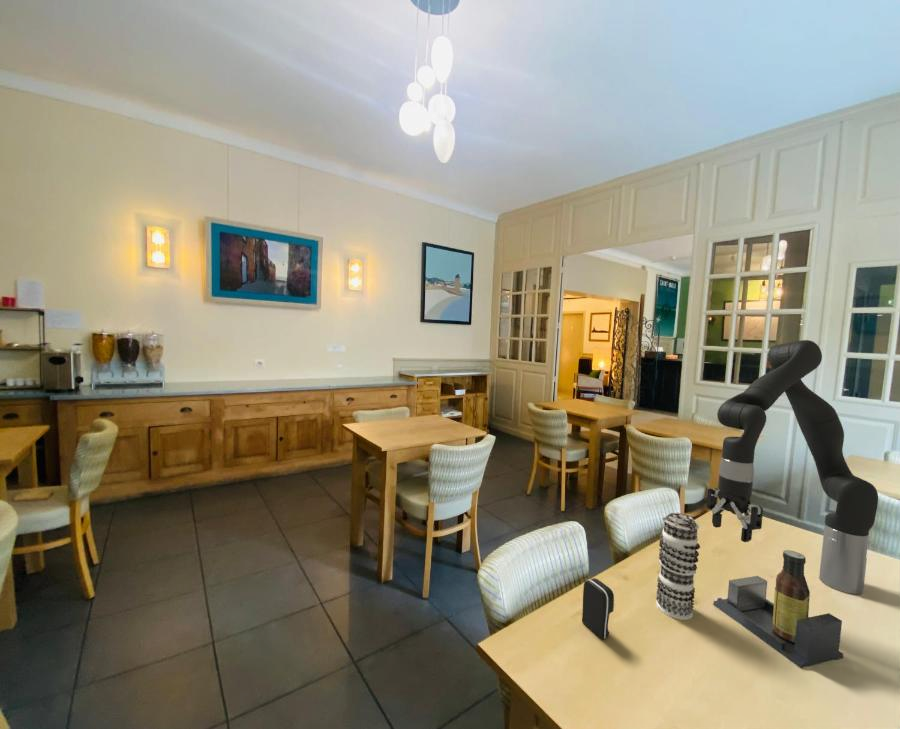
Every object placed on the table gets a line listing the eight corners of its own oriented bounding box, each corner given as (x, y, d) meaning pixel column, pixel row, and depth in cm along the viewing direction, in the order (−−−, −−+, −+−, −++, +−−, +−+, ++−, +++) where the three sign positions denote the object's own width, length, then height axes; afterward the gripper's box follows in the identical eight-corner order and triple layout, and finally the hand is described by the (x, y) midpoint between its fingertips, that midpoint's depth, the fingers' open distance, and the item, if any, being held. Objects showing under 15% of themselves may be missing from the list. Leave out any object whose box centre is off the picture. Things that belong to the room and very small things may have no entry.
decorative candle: (691, 603, 106) (699, 513, 104) (697, 625, 97) (705, 528, 96) (653, 593, 109) (660, 506, 108) (655, 613, 101) (662, 519, 100)
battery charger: (614, 636, 93) (617, 590, 92) (602, 641, 91) (605, 594, 90) (591, 617, 99) (594, 573, 98) (580, 621, 97) (583, 577, 96)
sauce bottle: (813, 647, 90) (821, 564, 89) (781, 642, 91) (789, 560, 90) (794, 627, 97) (802, 549, 95) (765, 622, 98) (772, 546, 97)
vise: (750, 598, 109) (752, 566, 108) (842, 657, 89) (846, 619, 88) (713, 604, 106) (716, 572, 105) (800, 668, 85) (804, 628, 85)
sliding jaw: (755, 600, 106) (757, 575, 106) (765, 606, 104) (767, 581, 103) (726, 605, 103) (729, 580, 103) (736, 612, 101) (738, 586, 101)
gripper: (701, 468, 113) (697, 523, 114) (752, 486, 99) (746, 549, 100) (721, 466, 115) (717, 520, 116) (773, 484, 101) (767, 545, 102)
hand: (730, 533), depth 108 cm, fingers open, 7 cm apart
